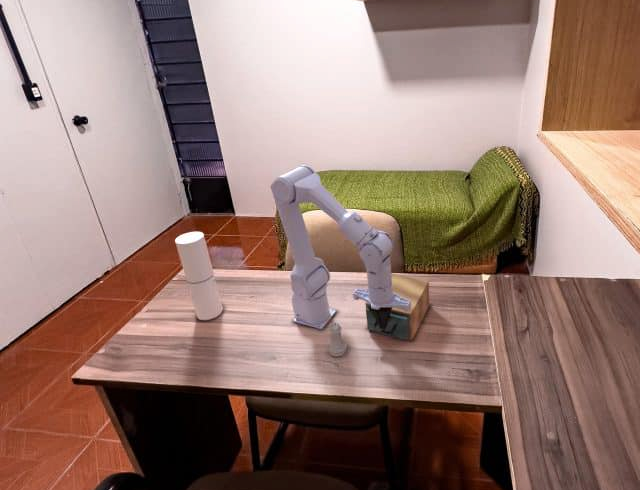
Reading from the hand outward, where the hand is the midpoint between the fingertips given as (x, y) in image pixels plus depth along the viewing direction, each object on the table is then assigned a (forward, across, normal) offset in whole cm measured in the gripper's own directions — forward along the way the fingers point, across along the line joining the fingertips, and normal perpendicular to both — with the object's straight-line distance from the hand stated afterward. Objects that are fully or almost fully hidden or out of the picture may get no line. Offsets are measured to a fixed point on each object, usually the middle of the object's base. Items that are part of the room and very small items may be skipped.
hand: (383, 326), depth 98 cm
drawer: (+4, 0, +6) cm, 8 cm away
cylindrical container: (+5, -54, -7) cm, 55 cm away
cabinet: (+5, 0, +10) cm, 12 cm away
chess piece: (+5, -10, -7) cm, 13 cm away
